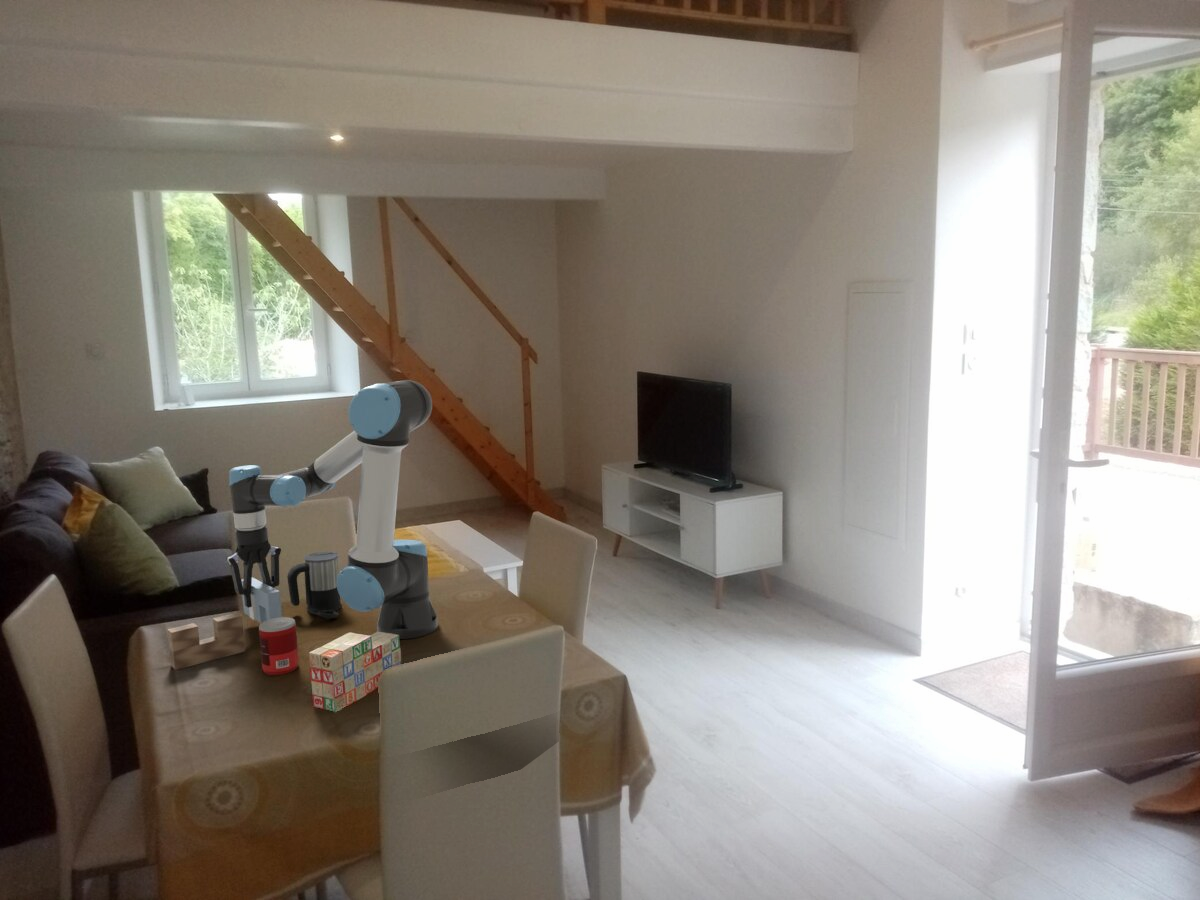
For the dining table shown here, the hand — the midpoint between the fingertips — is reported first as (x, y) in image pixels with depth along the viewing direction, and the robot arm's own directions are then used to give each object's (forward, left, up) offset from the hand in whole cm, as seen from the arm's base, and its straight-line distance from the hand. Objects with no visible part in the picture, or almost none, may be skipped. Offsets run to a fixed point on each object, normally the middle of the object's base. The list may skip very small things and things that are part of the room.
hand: (260, 616), depth 230 cm
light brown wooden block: (-9, +16, -4) cm, 19 cm away
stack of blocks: (-51, -1, -4) cm, 51 cm away
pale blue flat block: (-1, 0, 0) cm, 1 cm away
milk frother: (+1, -18, -4) cm, 18 cm away
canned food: (-27, +6, -4) cm, 28 cm away
